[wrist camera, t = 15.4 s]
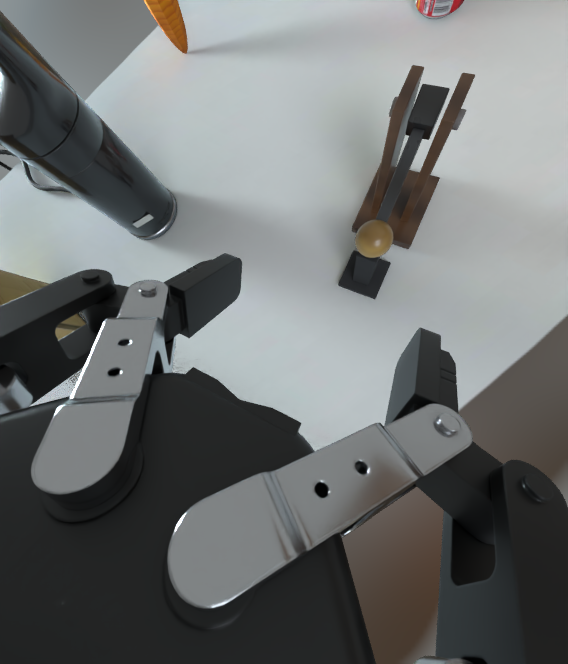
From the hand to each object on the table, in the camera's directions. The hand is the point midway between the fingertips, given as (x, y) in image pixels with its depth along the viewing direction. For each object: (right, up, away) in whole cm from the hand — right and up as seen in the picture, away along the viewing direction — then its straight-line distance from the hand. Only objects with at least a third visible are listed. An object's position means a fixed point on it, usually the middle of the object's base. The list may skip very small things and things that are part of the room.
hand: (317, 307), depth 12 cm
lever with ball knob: (+10, +13, +15) cm, 22 cm away
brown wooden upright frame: (+14, +16, +25) cm, 33 cm away
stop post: (+9, +7, +25) cm, 27 cm away
